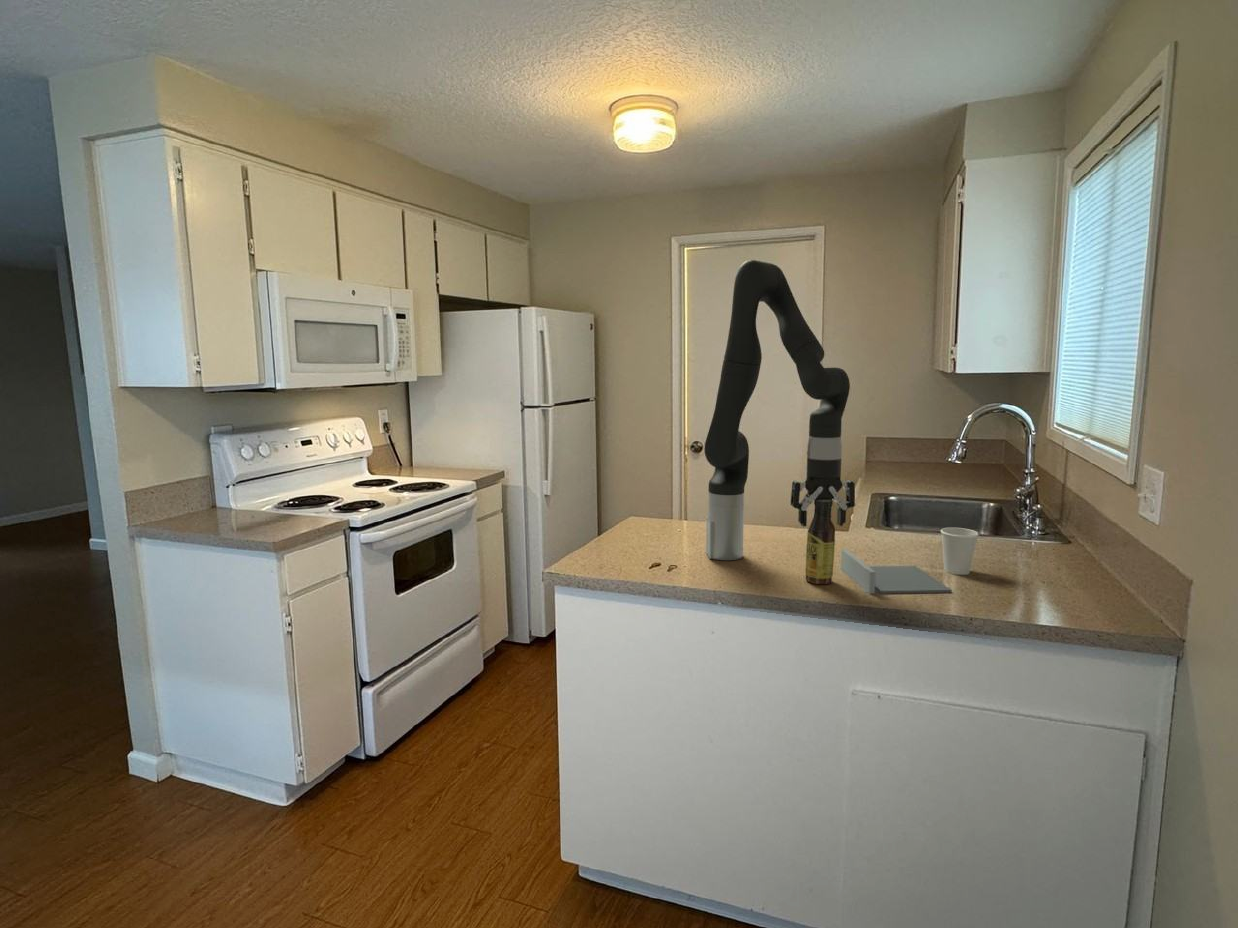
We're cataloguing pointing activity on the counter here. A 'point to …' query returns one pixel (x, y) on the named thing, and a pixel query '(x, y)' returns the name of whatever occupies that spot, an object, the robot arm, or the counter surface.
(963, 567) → the dixie cup
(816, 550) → the sauce bottle
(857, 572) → the low wall
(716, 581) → the counter surface
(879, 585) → the slate mat
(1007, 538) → the counter surface
